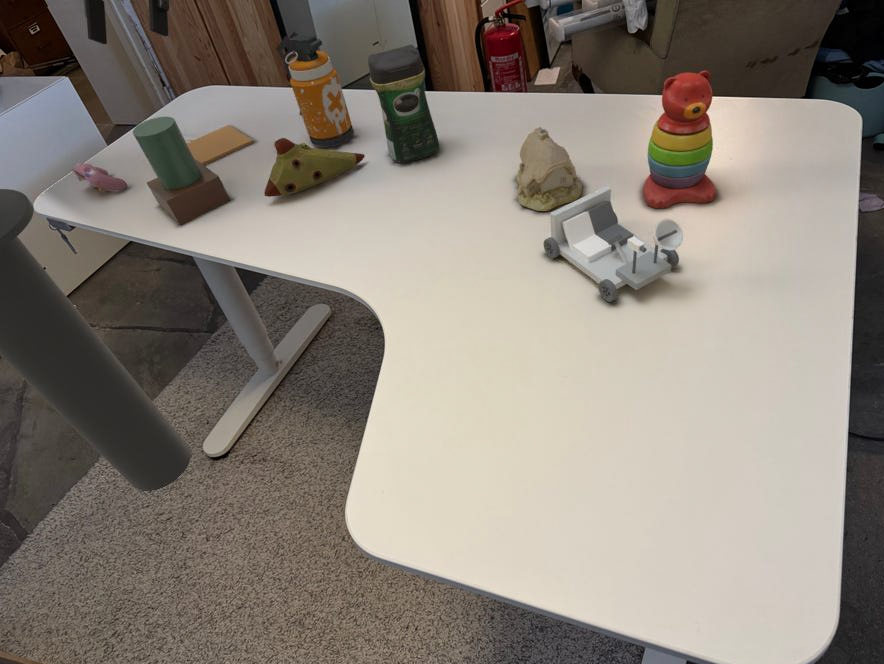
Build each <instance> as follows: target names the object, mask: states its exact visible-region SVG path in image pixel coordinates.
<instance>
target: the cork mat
mask: <svg viewBox="0 0 884 664" xmlns="http://www.w3.org/2000/svg"><path fill="white" fill-rule="evenodd" d="M186 143H187V145H188V147H189V149H190V151H191V153H192V155H193V157H194V159H195V160H198V161H199V162H200V163H202V164H203V165H204V166H206V165H208V164H210V163H212V162H214V161H217V160H218V159H220V158H223V157H225V156H227V155H229V154H232V153H234V152H236V151H238V150H240V149H242V148H245V147H247V146H249V145H252V144H253V143H254V140H253V139H252V138H250V137H249V136H248V135H246V134H244V133H242V132H241V131H240V130H238V129H236V128H235V127H233V126H231V125H230V124H227V125H224V126H223V127H220V128H218V129H215V130H213V131H211V132H209V133H207V134H204V135H202V136H200V137H197V138H195V139H193V140H191V141H188V142H186Z"/></svg>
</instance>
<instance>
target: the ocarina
mask: <svg viewBox="0 0 884 664" xmlns="http://www.w3.org/2000/svg"><path fill="white" fill-rule="evenodd" d="M273 143H274V144H273V146H274V148H275V151H276V158H275V162H274V164H273V165H272V168H271V170H270V174H269V177H268V180H267V183H266V186H265V189H264V196H265V197H269V198H271V197H273V198H274V197H282V196H288V195H293V194H296V193H299V192H302V191H305V190H307V189H310V188H312V187H316V186H318V185H319V184H322V183H324V182H327V181H329V180H330V179H333V178H336V177H337V176H340V175H342V174H343V173H345V172H347V171H349V170H351V169H353V168H354V167H356V166H357V165H358V164H359V163H361V162H362V161H363V160H364V159H365V156H366V155H365V154H364V153H359V152H350V151H342V150H341V151H340V150H333V149H324V148H316V147H311V146H310V145H308V144H307V143H306V142H301V143H295V142H293V141H291V140H290V139H288V138H286V137H281V138H279V139H277V140H275V141H274V142H273Z"/></svg>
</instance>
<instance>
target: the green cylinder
mask: <svg viewBox="0 0 884 664" xmlns="http://www.w3.org/2000/svg"><path fill="white" fill-rule="evenodd" d="M132 135H133V136H134V138H135V140H136V142H137V143H138V145H139V147H140V149H141V150H142V153H143V154H144V156H145V157H146V159H147V161H148V163H149V165H150V166H151V168H152V170H153V172H154V174H155V175H156V178H158V179H159V181H160V182H161V184H162V186H163V187H164V188H165V189H169V190H175V189H181V188H184V187H187V186H189V185H191V184H193V183H195V182H196V181H197V180H198V179H199V178H200V177H201V171H200V169H199V167H198V165H197V163H196V161H195V159H194V157H193V155H192V153H191V151H190V149H189V147H188V145H187V143H188V142H187V141H186V139H185V137H184V135H183V133H182V131H181V130H180V128H179V126H178V124H177V122H176V119H175V118H174V117H171V116H157V117H153V118H151V119H148V120H147V119H146V120H145V121H143V122H141V123H139V124H138V125H136V126H135V127H134V129H133V130H132Z"/></svg>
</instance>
